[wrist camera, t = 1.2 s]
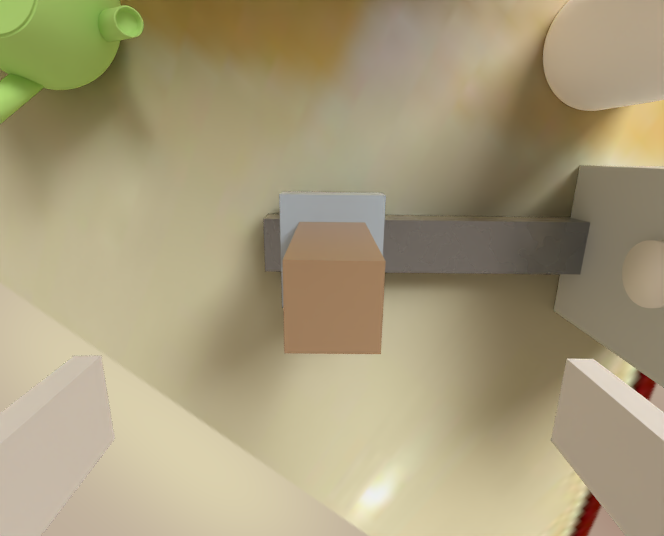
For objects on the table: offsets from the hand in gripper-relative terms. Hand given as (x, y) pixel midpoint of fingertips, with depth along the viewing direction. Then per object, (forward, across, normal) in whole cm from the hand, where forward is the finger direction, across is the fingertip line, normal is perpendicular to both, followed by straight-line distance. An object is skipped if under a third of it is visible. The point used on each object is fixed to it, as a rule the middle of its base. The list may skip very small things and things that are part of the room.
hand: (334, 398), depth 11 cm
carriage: (+20, 0, 0) cm, 20 cm away
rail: (+21, +7, 0) cm, 22 cm away
